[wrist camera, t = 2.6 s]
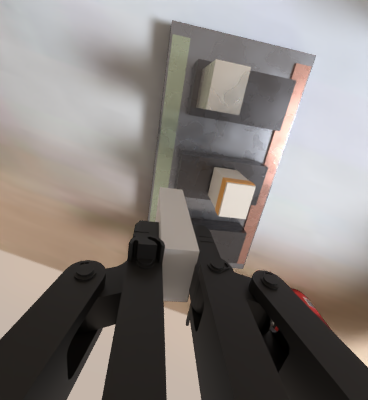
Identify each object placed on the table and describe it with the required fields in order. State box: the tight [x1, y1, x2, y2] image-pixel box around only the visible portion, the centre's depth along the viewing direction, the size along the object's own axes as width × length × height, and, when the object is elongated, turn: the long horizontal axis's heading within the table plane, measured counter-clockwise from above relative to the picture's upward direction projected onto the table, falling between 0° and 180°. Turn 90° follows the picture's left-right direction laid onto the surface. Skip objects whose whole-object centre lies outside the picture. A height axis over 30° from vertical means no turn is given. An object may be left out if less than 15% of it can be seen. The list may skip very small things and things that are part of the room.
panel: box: [148, 20, 316, 269], centre depth 22 cm, size 14×26×9 cm, turn 170°
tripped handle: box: [208, 167, 256, 219], centre depth 20 cm, size 2×3×5 cm
